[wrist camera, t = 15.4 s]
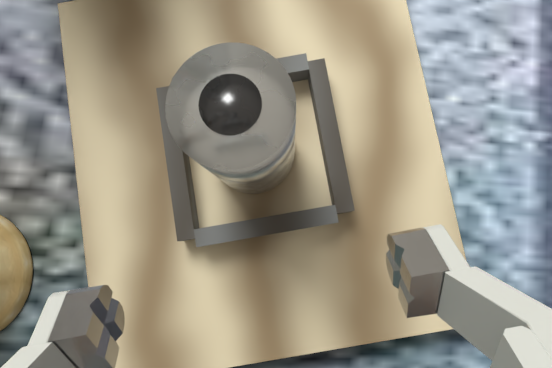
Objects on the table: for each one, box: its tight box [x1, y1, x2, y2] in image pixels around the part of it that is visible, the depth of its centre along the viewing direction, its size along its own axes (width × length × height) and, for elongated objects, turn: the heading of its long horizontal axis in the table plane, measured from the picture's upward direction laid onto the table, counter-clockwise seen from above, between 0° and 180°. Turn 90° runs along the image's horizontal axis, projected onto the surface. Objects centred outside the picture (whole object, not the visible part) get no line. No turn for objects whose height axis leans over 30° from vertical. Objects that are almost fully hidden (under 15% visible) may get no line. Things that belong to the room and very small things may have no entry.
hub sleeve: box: [165, 42, 296, 194], centre depth 19 cm, size 5×5×9 cm
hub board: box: [58, 0, 466, 368], centre depth 24 cm, size 22×24×3 cm
